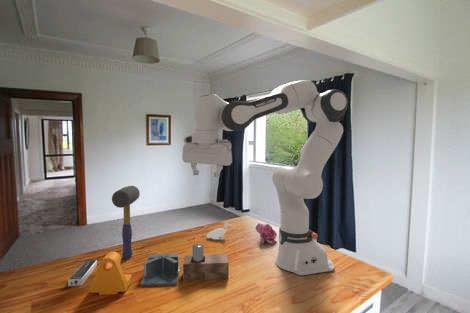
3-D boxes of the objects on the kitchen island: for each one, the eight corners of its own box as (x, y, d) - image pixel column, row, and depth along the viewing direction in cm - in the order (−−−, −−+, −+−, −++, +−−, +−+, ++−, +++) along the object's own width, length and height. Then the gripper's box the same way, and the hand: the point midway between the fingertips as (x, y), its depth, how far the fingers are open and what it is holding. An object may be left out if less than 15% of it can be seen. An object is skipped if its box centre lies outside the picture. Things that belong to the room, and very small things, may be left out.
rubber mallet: (130, 265, 102) (129, 190, 100) (111, 265, 102) (109, 189, 100) (141, 251, 114) (141, 184, 112) (125, 251, 114) (123, 184, 112)
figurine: (234, 238, 132) (234, 221, 131) (234, 241, 127) (234, 224, 127) (206, 238, 131) (206, 221, 130) (206, 241, 127) (206, 224, 126)
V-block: (180, 267, 100) (180, 252, 100) (176, 285, 88) (176, 268, 88) (148, 269, 99) (148, 253, 98) (140, 286, 87) (140, 269, 87)
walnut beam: (227, 269, 99) (227, 254, 99) (228, 279, 92) (228, 262, 92) (185, 270, 98) (185, 255, 97) (183, 280, 91) (183, 264, 90)
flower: (278, 247, 127) (282, 235, 121) (260, 251, 124) (262, 239, 118) (270, 228, 135) (273, 216, 129) (252, 232, 133) (254, 219, 127)
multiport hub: (97, 265, 102) (97, 259, 102) (82, 285, 88) (81, 278, 88) (85, 266, 102) (85, 260, 101) (67, 286, 87) (67, 279, 87)
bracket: (132, 281, 90) (132, 248, 89) (125, 293, 83) (124, 257, 82) (100, 282, 89) (99, 248, 89) (90, 295, 82) (89, 258, 81)
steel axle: (203, 272, 97) (203, 243, 96) (203, 277, 93) (203, 248, 92) (192, 272, 96) (192, 243, 96) (192, 278, 93) (192, 248, 92)
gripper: (235, 139, 93) (234, 177, 94) (190, 138, 103) (189, 173, 104) (227, 139, 88) (225, 179, 88) (180, 138, 97) (179, 174, 98)
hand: (206, 176), depth 96 cm, fingers open, 8 cm apart
